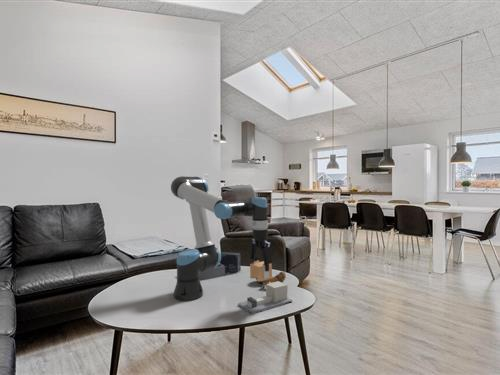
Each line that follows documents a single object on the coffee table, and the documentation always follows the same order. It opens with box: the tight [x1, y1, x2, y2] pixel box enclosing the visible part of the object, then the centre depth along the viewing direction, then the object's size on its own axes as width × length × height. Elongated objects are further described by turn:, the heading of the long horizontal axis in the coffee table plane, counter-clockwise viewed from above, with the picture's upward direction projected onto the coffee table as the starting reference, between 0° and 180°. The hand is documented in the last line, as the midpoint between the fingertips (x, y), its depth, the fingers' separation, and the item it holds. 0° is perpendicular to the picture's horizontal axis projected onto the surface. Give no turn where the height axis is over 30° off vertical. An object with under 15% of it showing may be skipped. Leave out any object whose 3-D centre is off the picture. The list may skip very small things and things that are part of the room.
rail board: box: [237, 281, 293, 315], centre depth 144 cm, size 12×24×8 cm, turn 124°
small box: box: [219, 251, 242, 273], centre depth 201 cm, size 13×7×12 cm, turn 74°
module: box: [249, 260, 273, 283], centre depth 143 cm, size 7×8×7 cm
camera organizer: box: [199, 263, 226, 281], centre depth 191 cm, size 16×22×6 cm
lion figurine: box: [260, 271, 287, 289], centre depth 166 cm, size 15×5×9 cm, turn 96°
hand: (261, 275), depth 143 cm, fingers closed on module, 7 cm apart
